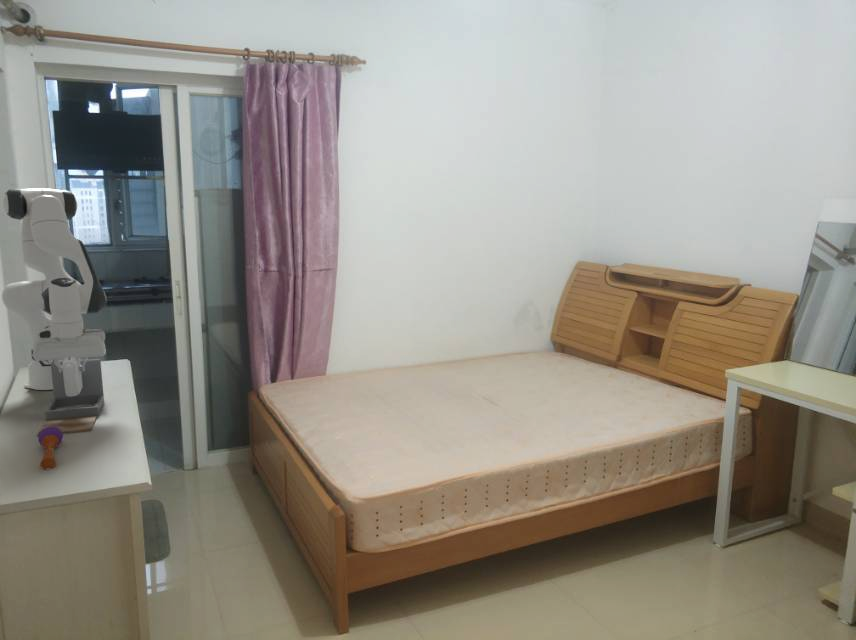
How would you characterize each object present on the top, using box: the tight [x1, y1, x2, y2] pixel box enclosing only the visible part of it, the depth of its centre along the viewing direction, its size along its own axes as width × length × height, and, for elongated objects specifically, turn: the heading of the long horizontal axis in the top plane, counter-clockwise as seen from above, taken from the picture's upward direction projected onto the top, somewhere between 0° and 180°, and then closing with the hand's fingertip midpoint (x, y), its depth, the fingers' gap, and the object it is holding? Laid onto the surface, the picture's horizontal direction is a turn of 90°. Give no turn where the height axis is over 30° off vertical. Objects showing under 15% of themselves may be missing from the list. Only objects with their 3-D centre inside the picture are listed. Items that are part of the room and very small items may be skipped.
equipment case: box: [44, 358, 105, 421], centre depth 208 cm, size 15×15×15 cm
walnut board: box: [36, 415, 98, 437], centre depth 195 cm, size 13×14×1 cm
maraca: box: [37, 426, 64, 470], centre depth 173 cm, size 6×6×20 cm
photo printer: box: [62, 357, 83, 396], centre depth 207 cm, size 10×4×12 cm, turn 20°
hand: (72, 371), depth 207 cm, fingers closed on photo printer, 4 cm apart
